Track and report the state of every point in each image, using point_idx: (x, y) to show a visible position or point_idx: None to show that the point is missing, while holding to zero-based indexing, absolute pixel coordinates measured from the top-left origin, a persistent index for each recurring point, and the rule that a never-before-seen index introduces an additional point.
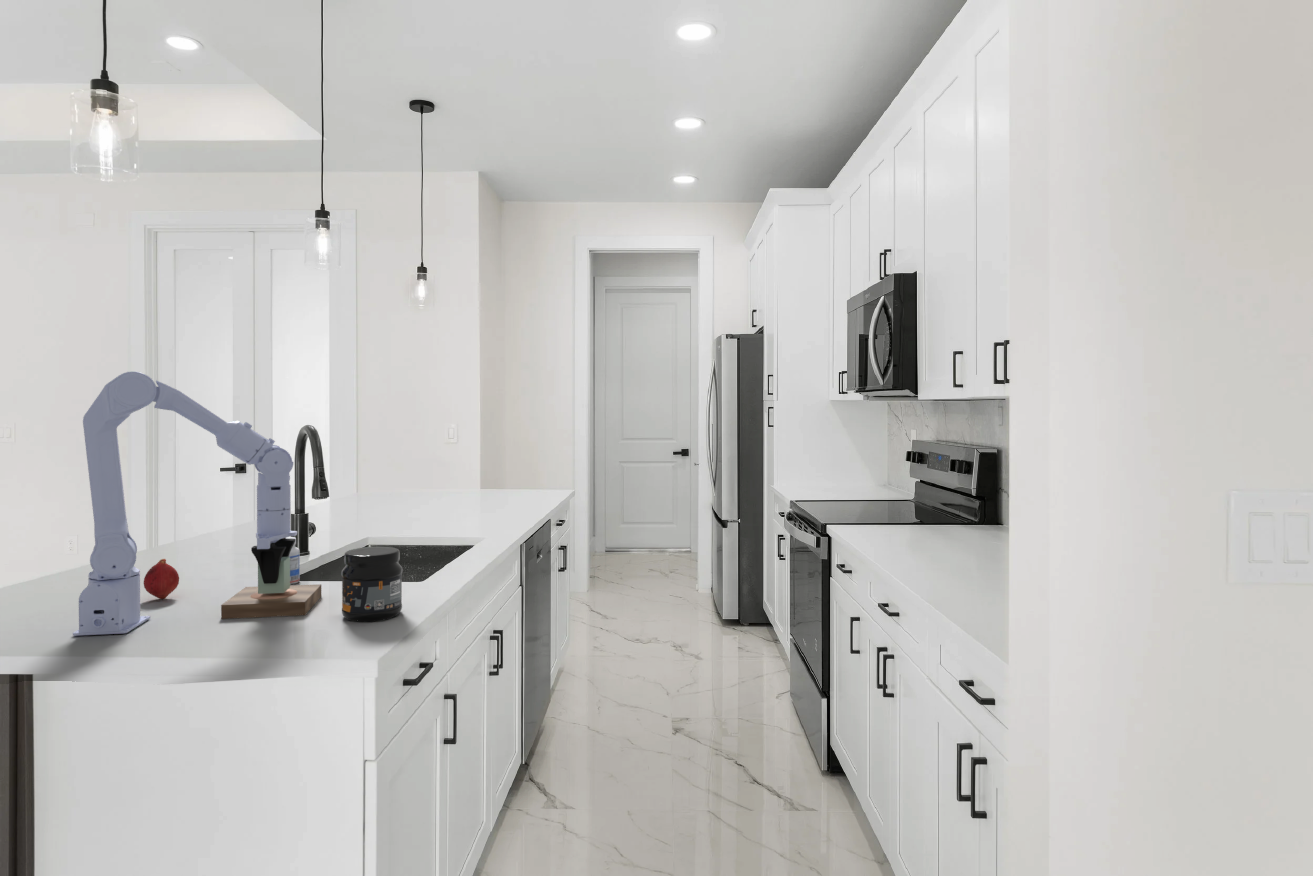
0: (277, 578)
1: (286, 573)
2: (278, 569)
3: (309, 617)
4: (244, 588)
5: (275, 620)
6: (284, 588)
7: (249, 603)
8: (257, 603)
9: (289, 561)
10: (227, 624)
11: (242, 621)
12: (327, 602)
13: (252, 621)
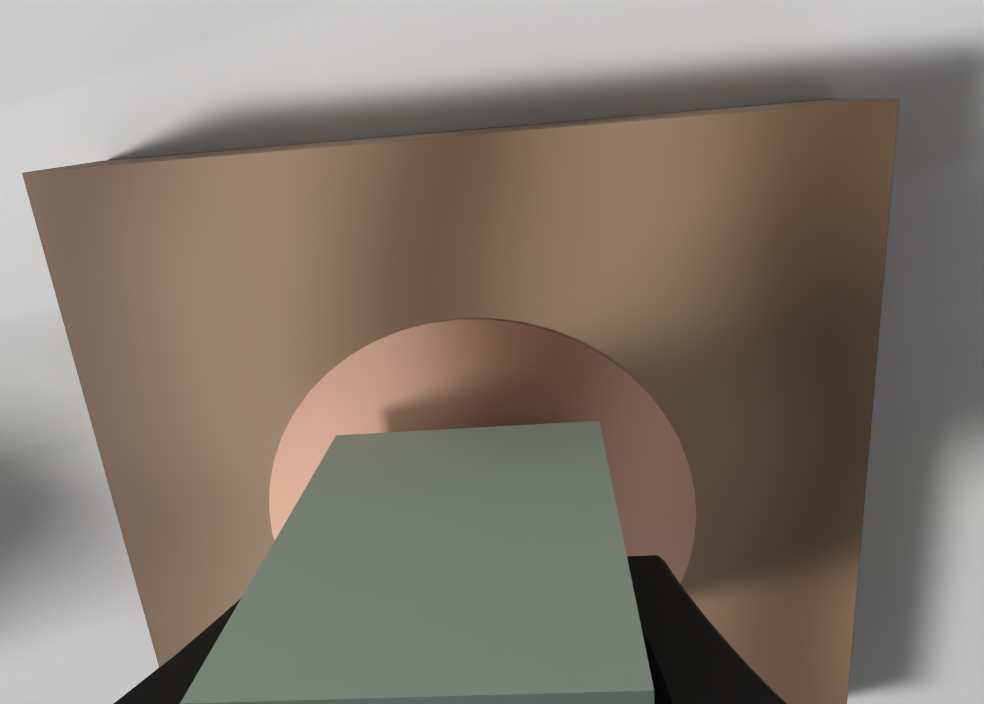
0: (638, 576)
1: (472, 535)
2: (706, 650)
3: (925, 26)
4: None
5: (951, 317)
6: (580, 441)
7: (834, 618)
8: (851, 555)
9: (251, 641)
10: (971, 624)
11: (909, 554)
12: (329, 22)
13: (931, 485)
